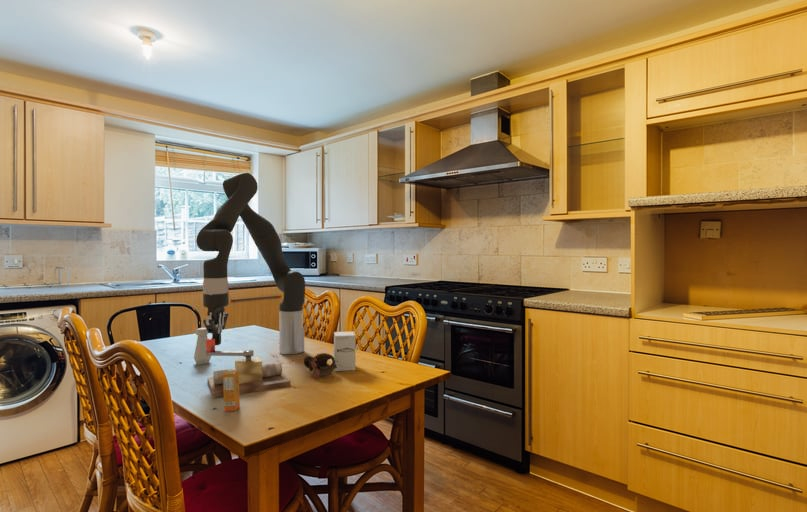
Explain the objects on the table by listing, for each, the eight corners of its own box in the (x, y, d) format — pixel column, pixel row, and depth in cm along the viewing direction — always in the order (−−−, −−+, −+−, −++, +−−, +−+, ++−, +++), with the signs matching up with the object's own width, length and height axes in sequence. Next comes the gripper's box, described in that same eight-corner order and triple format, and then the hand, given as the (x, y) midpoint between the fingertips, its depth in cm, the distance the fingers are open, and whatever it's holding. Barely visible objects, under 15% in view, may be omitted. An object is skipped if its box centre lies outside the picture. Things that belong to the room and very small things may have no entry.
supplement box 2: (334, 372, 147) (334, 335, 147) (333, 365, 155) (333, 331, 154) (355, 370, 149) (355, 335, 149) (353, 364, 156) (353, 330, 156)
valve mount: (277, 372, 147) (277, 347, 146) (290, 385, 133) (290, 358, 133) (207, 382, 135) (207, 355, 135) (214, 398, 122) (213, 368, 121)
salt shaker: (214, 361, 160) (214, 326, 159) (205, 365, 154) (205, 330, 154) (199, 360, 160) (199, 326, 160) (190, 365, 155) (190, 329, 154)
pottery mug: (339, 371, 149) (341, 354, 145) (328, 391, 141) (330, 374, 137) (307, 361, 151) (308, 344, 147) (295, 380, 143) (296, 363, 139)
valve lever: (254, 354, 135) (254, 338, 135) (251, 357, 132) (251, 340, 132) (208, 354, 136) (208, 337, 135) (204, 356, 132) (204, 340, 132)
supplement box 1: (226, 407, 115) (226, 370, 115) (239, 406, 115) (239, 370, 115) (222, 411, 112) (222, 374, 112) (236, 411, 112) (235, 374, 112)
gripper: (213, 288, 143) (214, 339, 144) (193, 294, 130) (194, 350, 131) (236, 289, 143) (236, 339, 144) (218, 294, 130) (219, 350, 131)
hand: (216, 344), depth 137 cm, fingers closed
